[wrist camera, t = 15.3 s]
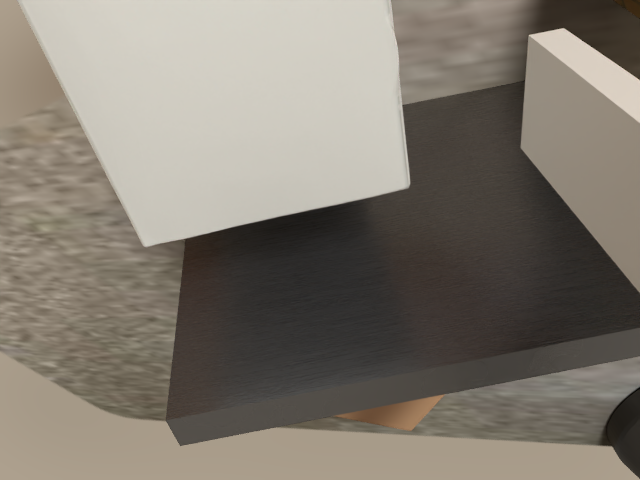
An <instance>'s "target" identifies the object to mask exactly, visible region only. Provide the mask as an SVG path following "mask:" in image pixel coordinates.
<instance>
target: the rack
mask: <svg viewBox="0 0 640 480" xmlns="http://www.w3.org/2000/svg"><path fill="white" fill-rule="evenodd" d="M524 92H525V81H523V82H518V83H513V84H508V85H503V86H498V87H493V88H488V89H483V90H478V91H472V92H467V93H462V94H457V95H452V96H447V97H442V98H437V99H432V100H427V101H422V102H417V103H412V104H407V105H402V108H403V118H404V127H405V136H406V146H407V155H408V164H409V173H410V186H409V188H407V189H404V190H399V191H395V192H391V193H387V194H383V195H379V196H375V197H370V198H366V199H361V200H356V201H352V202H347V203H343V204H338V205H333V206H328V207H323V208H318V209H313V210H309V211H304V212H300V213H295V214H290V215H285V216H280V217H276V218H271V219H267V220H263V221H258V222H254V223H249V224H244V225H240V226H235V227H231V228H227V229H224V230H220V231H215V232H211V233H208V234H203V235H199V236H194V237H190V238H186V242H185V251H184V260H183V269H182V278H181V287H180V296H179V306H178V315H177V324H176V333H175V342H174V351H173V360H172V369H171V378H170V387H169V396H168V405H167V414H166V422H167V423H168V425H169V427H170V429H171V430H172V432H173V434H174V436H175V437H176V439H177V441H178V443H179V444H180V446H182V445H187V444H192V443H198V442H203V441H208V440H213V439H218V438H223V437H228V436H233V435H239V434H244V433H249V432H253V431H259V430H264V429H269V428H274V427H280V426H285V425H290V424H295V423H300V422H305V421H310V420H315V419H321V418H326V417H331V416H336V415H341V414H346V413H351V412H356V411H362V410H367V409H372V408H377V407H382V406H387V405H392V404H397V403H403V402H408V401H413V400H418V399H423V398H428V397H433V396H438V395H443V394H449V393H454V392H459V391H464V390H469V389H474V388H479V387H484V386H490V385H495V384H500V383H505V382H510V381H515V380H520V379H525V378H531V377H536V376H541V375H546V374H551V373H556V372H561V371H566V370H572V369H577V368H582V367H587V366H592V365H597V364H602V363H607V362H613V361H618V360H623V359H628V358H633V357H638V356H640V293H639V292H638V290H637V289H636V288H635V287H634V285H633V284H632V283H631V282H630V281H629V279H628V278H627V277H626V276H625V274H624V273H623V272H622V271H621V270H620V268H619V267H618V266H617V265H616V263H615V262H614V261H613V260H612V259H611V257H610V256H609V255H608V254H607V253H606V251H605V250H604V249H603V248H602V246H601V245H600V244H599V243H598V242H597V240H596V239H595V238H594V237H593V235H592V234H591V233H590V232H589V231H588V229H587V228H586V227H585V226H584V225H583V223H582V222H581V221H580V220H579V218H578V217H577V216H576V215H575V214H574V212H573V211H572V210H571V209H570V207H569V206H568V205H567V204H566V203H565V201H564V200H563V199H562V198H561V196H560V195H559V194H558V193H557V192H556V190H555V189H554V188H553V187H552V186H551V184H550V183H549V182H548V181H547V179H546V178H545V177H544V176H543V175H542V173H541V172H540V171H539V170H538V168H537V167H536V166H535V165H534V164H533V162H532V161H531V160H530V159H529V158H528V156H527V155H526V154H525V153H524V151H523V150H522V149H521V134H522V120H523V106H524Z"/></svg>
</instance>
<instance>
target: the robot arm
mask: <svg viewBox="0 0 640 480" xmlns="http://www.w3.org/2000/svg"><path fill="white" fill-rule="evenodd" d="M521 149H522V150H523V151H524V153H525V154H526V155H527V156H528V158H529V159H530V160H531V161H532V162H533V164H534V165H535V166H536V167H537V168H538V170H539V171H540V172H541V173H542V175H543V176H544V177H545V178H546V179H547V181H548V182H549V183H550V184H551V186H552V187H553V188H554V189H555V190H556V192H557V193H558V194H559V195H560V196H561V198H562V199H563V200H564V201H565V203H566V204H567V205H568V206H569V207H570V209H571V210H572V211H573V212H574V214H575V215H576V216H577V217H578V218H579V220H580V221H581V222H582V223H583V225H584V226H585V227H586V228H587V229H588V231H589V232H590V233H591V234H592V235H593V237H594V238H595V239H596V240H597V242H598V243H599V244H600V245H601V246H602V248H603V249H604V250H605V251H606V253H607V254H608V255H609V256H610V257H611V259H612V260H613V261H614V262H615V263H616V265H617V266H618V267H619V268H620V270H621V271H622V272H623V273H624V274H625V276H626V277H627V278H628V279H629V281H630V282H631V283H632V284H633V285H634V287H635V288H636V289H637V290H638V292H639V293H640V80H639V79H637V78H636V77H635V76H633V75H632V74H630V73H629V72H627V71H626V70H624V69H623V68H621V67H620V66H618V65H617V64H616V63H614V62H613V61H611V60H610V59H608V58H607V57H605V56H604V55H602V54H601V53H599V52H598V51H597V50H595V49H594V48H592V47H591V46H589V45H588V44H586V43H585V42H583V41H582V40H580V39H579V38H578V37H576V36H575V35H573V34H572V33H570V32H569V31H567V30H566V29H564V28H562V29H557V30H552V31H547V32H542V33H537V34H532V35H529V37H528V51H527V64H526V78H525V92H524V106H523V120H522V134H521ZM607 437H608V439H609V441H610V443H611V445H612V446H613V448H614V450H615V452H616V453H617V455H618V457H619V458H620V459H621V461H622V462H623V463H624V464H625V465H626V466H627V467H628V468H629V469H630V470H631V471H632V472H633V473H634V474H635V475H636V476H638V477H639V478H640V389H639V390H637V391H636V392H635V393H633V394H632V395H631V396H630V397H628V398H627V399H626V400H625V401H624V402H623V403H622V404H621V405H620V406H619V407H618V408H617V410H616V411H615V412H614V414H613V415H612V417H611V419H610V421H609V423H608V427H607Z"/></svg>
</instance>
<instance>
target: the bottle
mask: <svg viewBox="0 0 640 480" xmlns="http://www.w3.org/2000/svg"><path fill="white" fill-rule="evenodd" d="M613 1H615V2H616V3H618V4H619V5H621V6H622V7H624V8H625V9H626V10H628V11H629V12H631V13H632V14H634V15H635V16H636V17H638V18H639V19H640V0H613Z"/></svg>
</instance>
